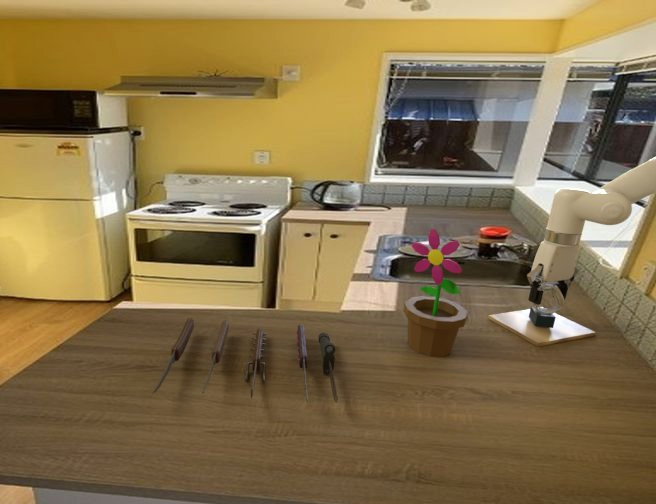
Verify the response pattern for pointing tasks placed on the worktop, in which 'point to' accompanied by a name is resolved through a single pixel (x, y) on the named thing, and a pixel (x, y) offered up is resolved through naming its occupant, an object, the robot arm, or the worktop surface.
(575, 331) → the board
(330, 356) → the knife set
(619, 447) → the worktop surface
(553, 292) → the watch
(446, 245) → the flowerpot
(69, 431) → the worktop surface
